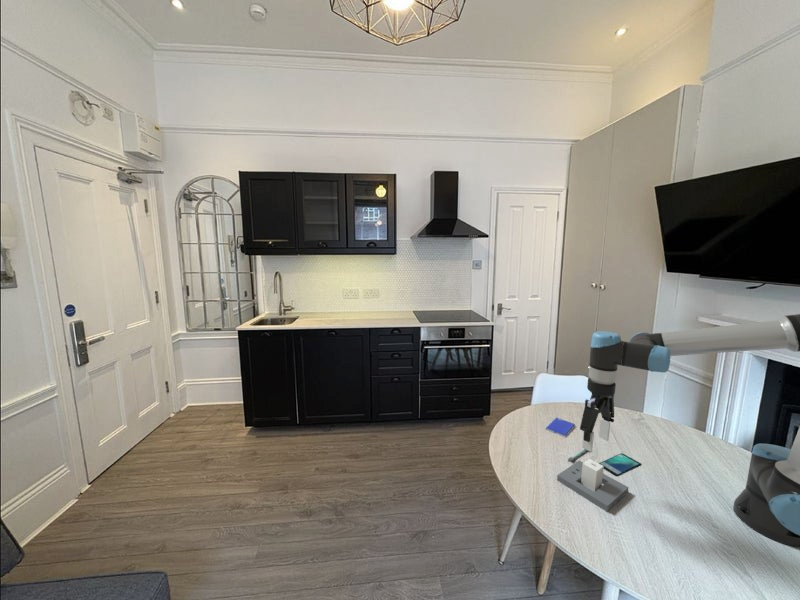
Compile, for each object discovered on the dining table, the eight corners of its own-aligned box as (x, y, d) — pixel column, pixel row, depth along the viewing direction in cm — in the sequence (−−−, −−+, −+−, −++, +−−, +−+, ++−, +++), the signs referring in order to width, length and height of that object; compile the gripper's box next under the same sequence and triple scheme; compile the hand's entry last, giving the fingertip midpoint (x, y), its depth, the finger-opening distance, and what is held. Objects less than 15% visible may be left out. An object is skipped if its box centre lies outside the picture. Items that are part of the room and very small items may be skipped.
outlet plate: (627, 492, 104) (628, 486, 103) (607, 511, 96) (607, 505, 96) (578, 465, 117) (579, 459, 117) (557, 480, 110) (557, 474, 109)
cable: (589, 450, 126) (589, 448, 126) (571, 462, 119) (571, 460, 119) (586, 448, 127) (586, 446, 127) (568, 460, 120) (568, 458, 120)
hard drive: (556, 417, 149) (545, 427, 140) (574, 423, 143) (565, 435, 135) (555, 420, 149) (545, 430, 141) (574, 427, 143) (564, 438, 135)
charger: (601, 487, 106) (603, 465, 105) (594, 493, 104) (596, 470, 102) (587, 479, 110) (589, 457, 109) (580, 484, 108) (582, 462, 106)
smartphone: (596, 463, 117) (621, 452, 124) (596, 465, 118) (621, 454, 124) (616, 476, 111) (641, 463, 117) (616, 477, 111) (641, 465, 117)
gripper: (606, 369, 110) (600, 428, 113) (570, 384, 98) (565, 449, 101) (631, 376, 104) (624, 438, 107) (596, 393, 92) (589, 462, 95)
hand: (595, 443), depth 104 cm, fingers open, 10 cm apart
